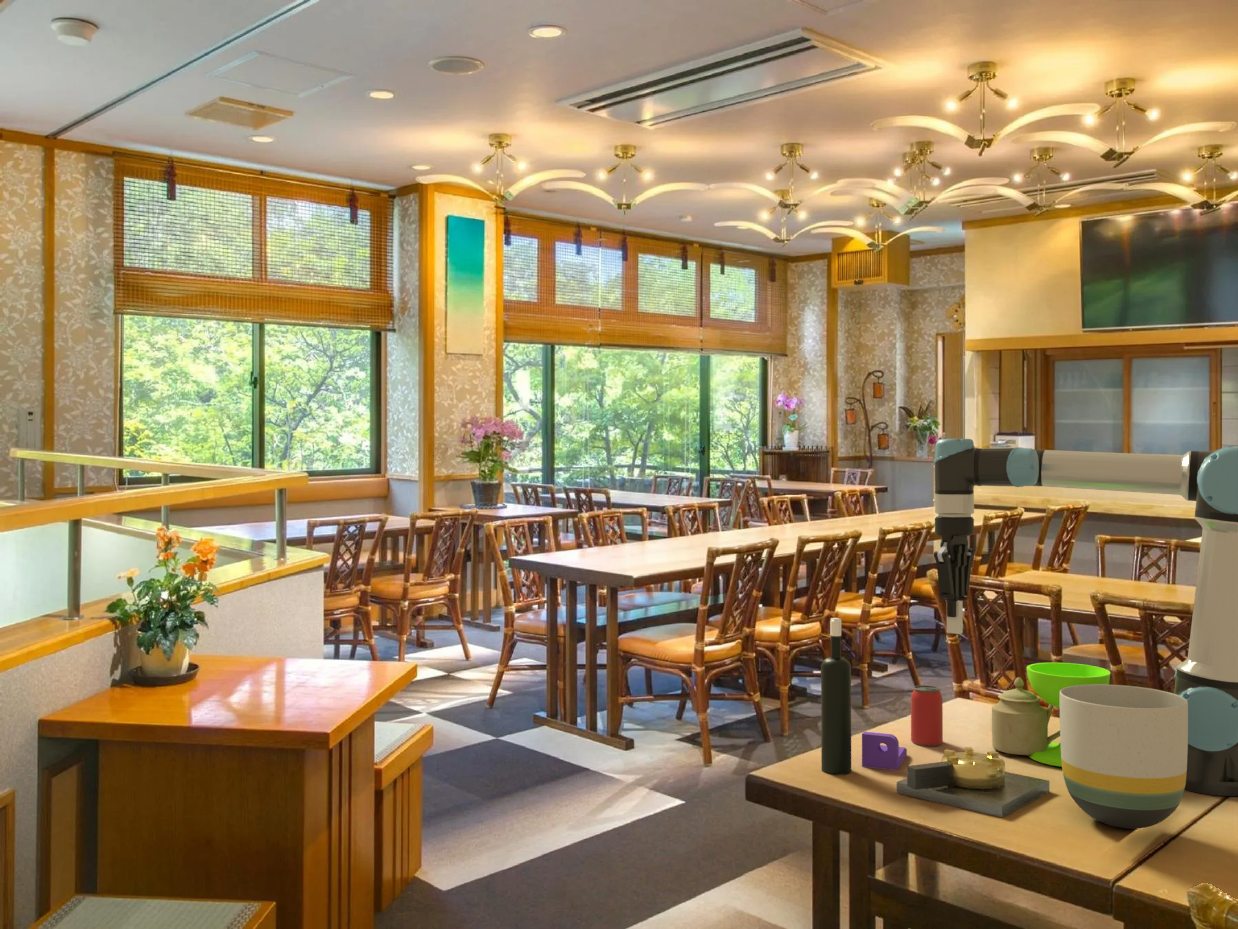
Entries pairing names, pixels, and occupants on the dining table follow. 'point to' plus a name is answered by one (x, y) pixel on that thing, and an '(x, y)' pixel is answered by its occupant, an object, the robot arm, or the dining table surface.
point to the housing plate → (984, 794)
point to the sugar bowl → (1020, 722)
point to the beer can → (926, 716)
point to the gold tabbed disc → (959, 771)
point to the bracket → (881, 751)
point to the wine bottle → (836, 707)
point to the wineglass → (1048, 685)
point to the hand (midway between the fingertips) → (954, 632)
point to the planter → (1124, 752)
